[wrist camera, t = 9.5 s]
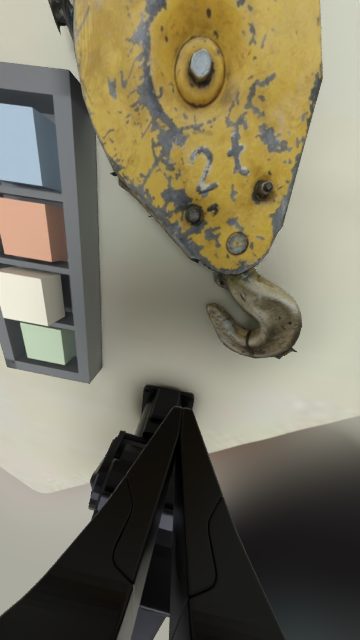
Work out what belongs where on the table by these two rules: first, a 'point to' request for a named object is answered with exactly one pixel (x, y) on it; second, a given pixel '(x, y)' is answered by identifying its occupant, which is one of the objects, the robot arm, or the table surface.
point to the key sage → (49, 343)
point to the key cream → (31, 295)
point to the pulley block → (207, 130)
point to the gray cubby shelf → (79, 215)
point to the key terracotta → (33, 230)
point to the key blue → (28, 149)
